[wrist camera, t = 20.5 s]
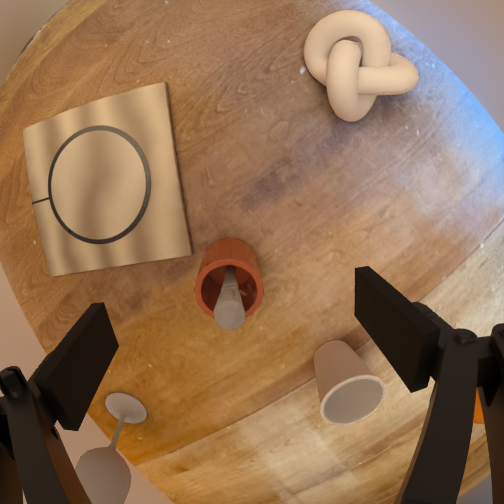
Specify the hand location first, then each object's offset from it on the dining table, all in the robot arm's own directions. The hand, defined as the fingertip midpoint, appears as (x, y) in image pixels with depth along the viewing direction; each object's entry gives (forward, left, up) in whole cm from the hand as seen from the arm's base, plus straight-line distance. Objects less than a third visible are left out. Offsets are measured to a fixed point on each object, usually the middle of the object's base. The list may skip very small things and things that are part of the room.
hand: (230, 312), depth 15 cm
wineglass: (-22, -27, -21) cm, 40 cm away
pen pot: (-1, -5, -21) cm, 21 cm away
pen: (-1, -5, -20) cm, 21 cm away
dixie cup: (+11, -21, -21) cm, 31 cm away
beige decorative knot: (+15, +15, -21) cm, 30 cm away
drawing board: (-15, +7, -21) cm, 27 cm away
